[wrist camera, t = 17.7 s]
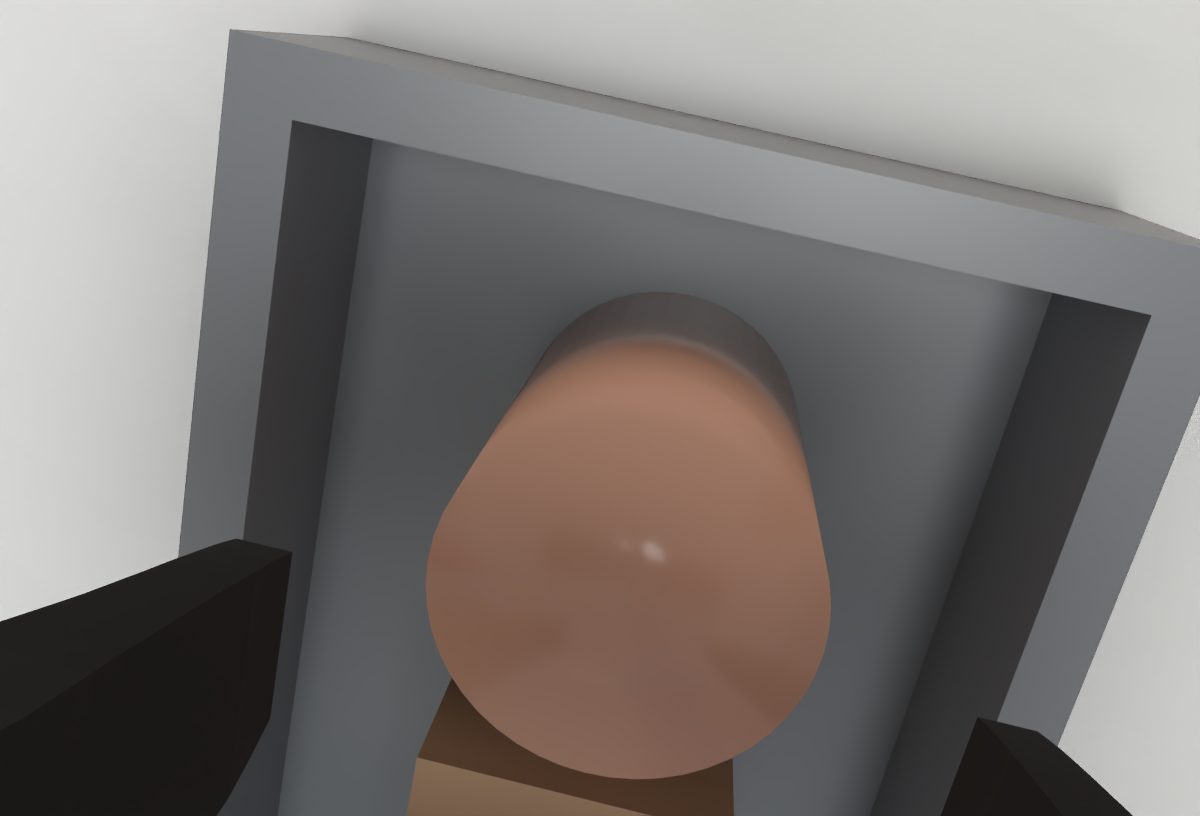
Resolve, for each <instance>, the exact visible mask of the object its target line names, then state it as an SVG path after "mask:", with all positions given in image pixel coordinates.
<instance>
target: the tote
mask: <svg viewBox="0 0 1200 816" xmlns="http://www.w3.org/2000/svg"><path fill="white" fill-rule="evenodd" d="M649 292H667V293H677V294H683V295H690V296H693V297H697V298H700V299H703V300H707V301H709V302H712V303H714V304H716V305H718V306H721V307H723V308H725V309H727V310H728V311H730V312H732V313H733V314H735V315H737V316H738V317H740V318H741V319H743V320H744V321H745V322H746V323H748V324H749V325H750V326H751V327H753V328H754V329H755V330H756V331H757V332H758V333H759V334H760V335H761V336H762V337H763V338H764V339H765V341H766V342H767V343H768V344H769V345H770V347H771V348H772V350H773V351H774V352H775V354H776V355H777V356H778V358H779V360H780V362H781V364H782V366H783V368H784V369H785V371H786V373H787V376H788V379H789V381H790V384H791V387H792V390H793V394H794V399H795V403H796V408H797V413H798V419H799V424H800V429H801V434H802V440H803V445H804V450H805V455H806V461H807V466H808V471H809V476H810V482H811V487H812V492H813V497H814V503H815V508H816V513H817V518H818V524H819V529H820V534H821V539H822V545H823V550H824V555H825V560H826V566H827V571H828V576H829V582H830V596H831V614H830V627H829V633H828V638H827V642H826V646H825V651H824V654H823V657H822V660H821V662H820V665H819V667H818V670H817V672H816V675H815V677H814V679H813V680H812V682H811V684H810V686H809V687H808V689H807V691H806V693H805V694H804V696H803V698H802V699H801V700H800V701H799V703H798V704H797V705H796V707H795V708H794V709H793V710H792V712H791V713H790V714H789V716H788V717H787V718H786V719H785V720H783V721H782V722H781V723H780V724H779V725H778V726H777V727H776V728H775V729H774V730H773V731H772V732H771V733H770V734H768V735H767V736H766V737H764V738H763V739H762V740H760V741H759V742H758V743H756V744H755V745H754V746H752V747H751V748H749V749H747V750H745V751H744V752H742V753H740V754H738V755H736V756H735V757H733V796H734V816H941V813H942V811H943V808H944V805H945V803H946V800H947V797H948V795H949V792H950V789H951V787H952V784H953V781H954V779H955V776H956V773H957V771H958V768H959V765H960V763H961V760H962V757H963V755H964V752H965V749H966V747H967V744H968V741H969V739H970V736H971V733H972V731H973V728H974V725H975V723H976V720H977V717H981V718H985V719H989V720H993V721H997V722H1001V723H1005V724H1010V725H1014V726H1018V727H1022V728H1026V729H1030V730H1035V731H1038V732H1039V733H1040V734H1042V735H1043V736H1044V737H1046V738H1047V739H1048V740H1050V741H1051V742H1052V743H1053V744H1055V745H1056V746H1058V743H1059V741H1060V738H1061V736H1062V734H1063V731H1064V729H1065V726H1066V724H1067V721H1068V719H1069V716H1070V714H1071V711H1072V709H1073V706H1074V704H1075V701H1076V699H1077V697H1078V694H1079V692H1080V689H1081V687H1082V684H1083V682H1084V679H1085V677H1086V674H1087V672H1088V669H1089V667H1090V664H1091V662H1092V660H1093V657H1094V655H1095V652H1096V650H1097V647H1098V645H1099V642H1100V640H1101V637H1102V635H1103V632H1104V630H1105V627H1106V625H1107V623H1108V620H1109V618H1110V615H1111V613H1112V610H1113V608H1114V605H1115V603H1116V600H1117V598H1118V595H1119V593H1120V590H1121V588H1122V586H1123V583H1124V581H1125V578H1126V576H1127V573H1128V571H1129V568H1130V566H1131V563H1132V561H1133V558H1134V556H1135V554H1136V551H1137V549H1138V546H1139V544H1140V541H1141V539H1142V536H1143V534H1144V531H1145V529H1146V526H1147V524H1148V521H1149V519H1150V517H1151V514H1152V512H1153V509H1154V507H1155V504H1156V502H1157V499H1158V497H1159V494H1160V492H1161V489H1162V487H1163V484H1164V482H1165V480H1166V477H1167V475H1168V472H1169V470H1170V467H1171V465H1172V462H1173V460H1174V457H1175V455H1176V452H1177V450H1178V447H1179V445H1180V443H1181V440H1182V438H1183V435H1184V433H1185V430H1186V428H1187V425H1188V423H1189V420H1190V418H1191V415H1192V413H1193V410H1194V408H1195V406H1196V403H1197V401H1198V398H1199V396H1200V240H1199V239H1196V238H1194V237H1191V236H1188V235H1185V234H1183V233H1180V232H1177V231H1175V230H1172V229H1169V228H1166V227H1164V226H1161V225H1158V224H1155V223H1153V222H1150V221H1147V220H1145V219H1142V218H1139V217H1136V216H1134V215H1131V214H1128V213H1125V212H1123V211H1119V210H1114V209H1110V208H1105V207H1101V206H1097V205H1092V204H1088V203H1083V202H1079V201H1074V200H1070V199H1065V198H1061V197H1056V196H1052V195H1048V194H1043V193H1039V192H1034V191H1030V190H1025V189H1021V188H1016V187H1012V186H1007V185H1003V184H998V183H994V182H990V181H985V180H981V179H976V178H972V177H967V176H963V175H958V174H954V173H949V172H945V171H941V170H936V169H932V168H927V167H923V166H918V165H914V164H909V163H905V162H900V161H896V160H892V159H887V158H883V157H878V156H874V155H869V154H865V153H860V152H856V151H851V150H847V149H842V148H838V147H834V146H829V145H825V144H820V143H816V142H811V141H807V140H802V139H798V138H793V137H789V136H785V135H780V134H776V133H771V132H767V131H762V130H758V129H753V128H749V127H744V126H740V125H736V124H731V123H727V122H722V121H718V120H713V119H709V118H704V117H700V116H695V115H691V114H686V113H682V112H678V111H673V110H669V109H664V108H660V107H655V106H651V105H646V104H642V103H637V102H633V101H629V100H624V99H620V98H615V97H611V96H606V95H602V94H597V93H593V92H588V91H584V90H580V89H575V88H571V87H566V86H562V85H557V84H553V83H548V82H544V81H539V80H535V79H530V78H526V77H522V76H517V75H513V74H508V73H504V72H499V71H495V70H490V69H486V68H481V67H477V66H473V65H468V64H464V63H459V62H455V61H450V60H446V59H441V58H437V57H432V56H428V55H424V54H419V53H415V52H410V51H406V50H401V49H397V48H392V47H388V46H383V45H379V44H374V43H370V42H366V41H361V40H357V39H352V38H348V37H334V36H319V35H305V34H290V33H276V32H261V31H247V30H233V29H230V32H229V42H228V53H227V63H226V73H225V83H224V94H223V104H222V114H221V125H220V135H219V145H218V155H217V166H216V176H215V186H214V196H213V207H212V217H211V227H210V237H209V248H208V258H207V268H206V279H205V289H204V299H203V309H202V320H201V330H200V340H199V350H198V361H197V371H196V381H195V391H194V402H193V412H192V422H191V432H190V443H189V453H188V463H187V474H186V484H185V494H184V504H183V515H182V525H181V535H180V545H179V556H178V558H180V557H182V556H185V555H187V554H190V553H193V552H195V551H198V550H201V549H204V548H207V547H209V546H212V545H215V544H218V543H221V542H225V541H229V540H232V539H241V540H245V541H249V542H253V543H257V544H261V545H266V546H270V547H274V548H278V549H282V550H286V551H290V552H292V559H291V567H290V574H289V582H288V589H287V597H286V604H285V612H284V619H283V627H282V634H281V642H280V649H279V656H278V664H277V671H276V679H275V686H274V694H273V701H272V709H271V716H270V720H269V722H268V724H267V726H266V728H265V730H264V732H263V734H262V736H261V738H260V740H259V742H258V743H257V745H256V747H255V749H254V751H253V753H252V755H251V757H250V759H249V761H248V763H247V765H246V767H245V769H244V770H243V772H242V774H241V776H240V778H239V780H238V781H237V783H236V785H235V787H234V789H233V791H232V793H231V794H230V796H229V798H228V800H227V801H226V803H225V804H224V806H223V807H222V809H221V810H220V812H219V813H218V814H217V816H406V814H407V808H408V803H409V798H410V793H411V787H412V782H413V777H414V771H415V766H416V761H417V757H418V754H419V752H420V750H421V747H422V745H423V743H424V740H425V738H426V736H427V734H428V731H429V729H430V727H431V724H432V722H433V720H434V717H435V715H436V713H437V710H438V708H439V706H440V704H441V701H442V699H443V697H444V694H445V692H446V690H447V687H448V685H449V683H450V680H451V678H452V677H451V675H450V674H449V672H448V670H447V668H446V666H445V664H444V661H443V659H442V657H441V655H440V653H439V651H438V648H437V645H436V642H435V639H434V636H433V633H432V630H431V625H430V620H429V615H428V610H427V599H426V574H427V564H428V557H429V553H430V548H431V544H432V540H433V536H434V534H435V531H436V529H437V526H438V524H439V521H440V519H441V516H442V514H443V512H444V510H445V509H446V507H447V505H448V504H449V502H450V500H451V499H452V497H453V495H454V493H455V492H456V490H457V489H458V487H459V486H460V484H461V482H462V481H463V479H464V478H465V476H466V475H467V473H468V471H469V470H470V468H471V467H472V465H473V464H474V462H475V460H476V459H477V457H478V456H479V454H480V453H481V451H482V450H483V448H484V446H485V445H486V443H487V442H488V440H489V439H490V437H491V435H492V434H493V432H494V431H495V429H496V428H497V426H498V424H499V423H500V421H501V420H502V418H503V417H504V415H505V413H506V412H507V410H508V409H509V407H510V406H511V404H512V402H513V401H514V399H515V398H516V396H517V395H518V393H519V391H520V390H521V388H522V387H523V385H524V384H525V382H526V380H527V379H528V377H529V376H530V374H531V373H532V371H533V369H534V368H535V366H536V365H537V363H538V362H539V360H540V359H541V357H542V355H543V354H544V352H545V351H546V349H547V348H548V347H549V345H550V344H551V343H552V342H553V340H554V339H555V338H556V337H557V335H558V334H559V333H560V332H562V331H563V330H564V329H565V328H566V327H567V326H568V325H569V324H570V323H571V322H573V321H574V320H575V319H577V318H578V317H579V316H581V315H582V314H584V313H585V312H587V311H589V310H591V309H593V308H595V307H596V306H598V305H600V304H603V303H605V302H608V301H611V300H613V299H616V298H620V297H624V296H628V295H632V294H639V293H649Z"/></svg>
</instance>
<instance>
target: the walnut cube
mask: <svg viewBox="0 0 1200 816" xmlns="http://www.w3.org/2000/svg"><path fill="white" fill-rule="evenodd" d="M406 816H734V796H733V758H731V759H729V760H726V761H724V762H721V763H719V764H717V765H714V766H712V767H709V768H706V769H703V770H699V771H695V772H692V773H688V774H684V775H678V776H671V777H665V778H655V779H624V778H611V777H605V776H599V775H594V774H589V773H584V772H581V771H577V770H574V769H571V768H568V767H564V766H561V765H559V764H556V763H554V762H552V761H549V760H547V759H545V758H542V757H540V756H538V755H536V754H534V753H532V752H531V751H529V750H527V749H525V748H524V747H522V746H520V745H518V744H517V743H515V742H514V741H512V740H511V739H510V738H508V737H507V736H506V735H504V734H503V733H502V732H500V731H499V730H497V729H496V728H495V727H494V726H493V725H492V724H491V723H490V722H489V721H487V720H486V719H485V718H484V717H483V716H482V715H481V714H480V713H479V712H478V711H477V710H476V709H475V708H474V706H473V705H472V704H471V703H470V702H469V700H468V699H467V698H466V697H465V696H464V695H463V693H462V692H461V690H460V689H459V687H458V686H457V684H456V683H455V681H454V680H453V678H451V680H450V683H449V685H448V687H447V690H446V692H445V694H444V697H443V699H442V701H441V704H440V706H439V708H438V710H437V713H436V715H435V717H434V720H433V722H432V724H431V727H430V729H429V731H428V734H427V736H426V738H425V740H424V743H423V745H422V747H421V750H420V752H419V754H418V757H417V761H416V766H415V771H414V777H413V782H412V787H411V793H410V798H409V803H408V808H407V814H406Z"/></svg>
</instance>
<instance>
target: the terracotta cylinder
mask: <svg viewBox="0 0 1200 816" xmlns="http://www.w3.org/2000/svg"><path fill="white" fill-rule="evenodd" d="M426 599H427V610H428V615H429V620H430V625H431V630H432V633H433V636H434V639H435V642H436V645H437V648H438V651H439V653H440V655H441V657H442V659H443V661H444V664H445V666H446V668H447V670H448V672H449V674H450V675H451V677H452V678H453V680H454V681H455V683H456V684H457V686H458V687H459V689H460V690H461V692H462V693H463V695H464V696H465V697H466V698H467V699H468V700H469V702H470V703H471V704H472V705H473V706H474V708H475V709H476V710H477V711H478V712H479V713H480V714H481V715H482V716H483V717H484V718H485V719H486V720H487V721H489V722H490V723H491V724H492V725H493V726H494V727H495V728H496V729H497V730H499V731H500V732H502V733H503V734H504V735H506V736H507V737H508V738H510V739H511V740H512V741H514V742H515V743H517V744H518V745H520V746H522V747H524V748H525V749H527V750H529V751H531V752H532V753H534V754H536V755H538V756H540V757H542V758H545V759H547V760H549V761H552V762H554V763H556V764H559V765H561V766H564V767H568V768H571V769H574V770H577V771H581V772H584V773H589V774H594V775H599V776H605V777H611V778H624V779H655V778H665V777H671V776H678V775H684V774H688V773H692V772H695V771H699V770H703V769H706V768H709V767H712V766H714V765H717V764H719V763H721V762H724V761H726V760H729V759H731V758H733V757H735V756H736V755H738V754H740V753H742V752H744V751H745V750H747V749H749V748H751V747H752V746H754V745H755V744H756V743H758V742H759V741H760V740H762V739H763V738H764V737H766V736H767V735H768V734H770V733H771V732H772V731H773V730H774V729H775V728H776V727H777V726H778V725H779V724H780V723H781V722H782V721H783V720H785V719H786V718H787V717H788V716H789V714H790V713H791V712H792V710H793V709H794V708H795V707H796V705H797V704H798V703H799V701H800V700H801V699H802V698H803V696H804V694H805V693H806V691H807V689H808V687H809V686H810V684H811V682H812V680H813V679H814V677H815V675H816V672H817V670H818V667H819V665H820V662H821V660H822V657H823V654H824V651H825V646H826V642H827V638H828V633H829V627H830V614H831V596H830V582H829V576H828V571H827V566H826V560H825V555H824V550H823V545H822V539H821V534H820V529H819V524H818V518H817V513H816V508H815V503H814V497H813V492H812V487H811V482H810V476H809V471H808V466H807V461H806V455H805V450H804V445H803V440H802V434H801V429H800V424H799V419H798V413H797V408H796V403H795V399H794V394H793V390H792V387H791V384H790V381H789V379H788V376H787V373H786V371H785V369H784V368H783V366H782V364H781V362H780V360H779V358H778V356H777V355H776V354H775V352H774V351H773V350H772V348H771V347H770V345H769V344H768V343H767V342H766V341H765V339H764V338H763V337H762V336H761V335H760V334H759V333H758V332H757V331H756V330H755V329H754V328H753V327H751V326H750V325H749V324H748V323H746V322H745V321H744V320H743V319H741V318H740V317H738V316H737V315H735V314H733V313H732V312H730V311H728V310H727V309H725V308H723V307H721V306H718V305H716V304H714V303H712V302H709V301H707V300H703V299H700V298H697V297H693V296H690V295H683V294H677V293H667V292H649V293H639V294H632V295H628V296H624V297H620V298H616V299H613V300H611V301H608V302H605V303H603V304H600V305H598V306H596V307H595V308H593V309H591V310H589V311H587V312H585V313H584V314H582V315H581V316H579V317H578V318H577V319H575V320H574V321H573V322H571V323H570V324H569V325H568V326H567V327H566V328H565V329H564V330H563V331H562V332H560V333H559V334H558V335H557V337H556V338H555V339H554V340H553V342H552V343H551V344H550V345H549V347H548V348H547V349H546V351H545V352H544V354H543V355H542V357H541V359H540V360H539V362H538V363H537V365H536V366H535V368H534V369H533V371H532V373H531V374H530V376H529V377H528V379H527V380H526V382H525V384H524V385H523V387H522V388H521V390H520V391H519V393H518V395H517V396H516V398H515V399H514V401H513V402H512V404H511V406H510V407H509V409H508V410H507V412H506V413H505V415H504V417H503V418H502V420H501V421H500V423H499V424H498V426H497V428H496V429H495V431H494V432H493V434H492V435H491V437H490V439H489V440H488V442H487V443H486V445H485V446H484V448H483V450H482V451H481V453H480V454H479V456H478V457H477V459H476V460H475V462H474V464H473V465H472V467H471V468H470V470H469V471H468V473H467V475H466V476H465V478H464V479H463V481H462V482H461V484H460V486H459V487H458V489H457V490H456V492H455V493H454V495H453V497H452V499H451V500H450V502H449V504H448V505H447V507H446V509H445V510H444V512H443V514H442V516H441V519H440V521H439V524H438V526H437V529H436V531H435V534H434V536H433V540H432V544H431V548H430V553H429V557H428V564H427V574H426Z"/></svg>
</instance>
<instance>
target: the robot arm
mask: <svg viewBox="0 0 1200 816" xmlns="http://www.w3.org/2000/svg"><path fill="white" fill-rule="evenodd" d="M291 559H292V552H290V551H286V550H282V549H278V548H274V547H270V546H266V545H261V544H257V543H253V542H249V541H245V540H241V539H232V540H229V541H225V542H221V543H218V544H215V545H212V546H209V547H207V548H204V549H201V550H198V551H195V552H193V553H190V554H187V555H185V556H182V557H180V558H177V559H174V560H172V561H169V562H166V563H164V564H161V565H159V566H156V567H153V568H151V569H148V570H146V571H143V572H140V573H138V574H135V575H132V576H130V577H127V578H124V579H122V580H119V581H116V582H114V583H111V584H108V585H106V586H103V587H100V588H98V589H95V590H93V591H90V592H87V593H85V594H82V595H79V596H76V597H73V598H70V599H67V600H64V601H61V602H58V603H55V604H52V605H49V606H46V607H43V608H40V609H37V610H34V611H31V612H28V613H25V614H22V615H19V616H16V617H13V618H10V619H7V620H4V621H1V622H0V816H217V814H218V813H219V812H220V810H221V809H222V807H223V806H224V804H225V803H226V801H227V800H228V798H229V796H230V794H231V793H232V791H233V789H234V787H235V785H236V783H237V781H238V780H239V778H240V776H241V774H242V772H243V770H244V769H245V767H246V765H247V763H248V761H249V759H250V757H251V755H252V753H253V751H254V749H255V747H256V745H257V743H258V742H259V740H260V738H261V736H262V734H263V732H264V730H265V728H266V726H267V724H268V722H269V720H270V716H271V709H272V701H273V694H274V686H275V679H276V671H277V664H278V656H279V649H280V642H281V634H282V627H283V619H284V612H285V604H286V597H287V589H288V582H289V574H290V567H291ZM941 816H1132V815H1131V814H1130V813H1129V812H1128V811H1127V810H1126V809H1125V808H1124V807H1123V806H1122V805H1121V804H1120V803H1119V802H1118V801H1117V800H1115V799H1114V798H1113V797H1112V796H1111V795H1110V794H1109V793H1108V792H1107V791H1106V790H1105V789H1104V788H1103V787H1102V786H1101V785H1099V784H1098V783H1097V782H1096V781H1095V780H1094V779H1093V778H1092V777H1091V776H1090V775H1089V774H1088V773H1086V772H1085V771H1084V770H1083V769H1082V768H1081V767H1080V766H1079V765H1078V764H1077V763H1075V762H1074V761H1073V760H1072V759H1071V758H1070V757H1069V756H1068V755H1066V754H1065V753H1064V752H1063V751H1062V750H1061V749H1059V748H1058V747H1057V746H1056V745H1055V744H1053V743H1052V742H1051V741H1050V740H1048V739H1047V738H1046V737H1044V736H1043V735H1042V734H1040V733H1039V732H1038V731H1035V730H1030V729H1026V728H1022V727H1018V726H1014V725H1010V724H1005V723H1001V722H997V721H993V720H989V719H985V718H981V717H977V720H976V723H975V725H974V728H973V731H972V733H971V736H970V739H969V741H968V744H967V747H966V749H965V752H964V755H963V757H962V760H961V763H960V765H959V768H958V771H957V773H956V776H955V779H954V781H953V784H952V787H951V789H950V792H949V795H948V797H947V800H946V803H945V805H944V808H943V811H942V813H941Z"/></svg>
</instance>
